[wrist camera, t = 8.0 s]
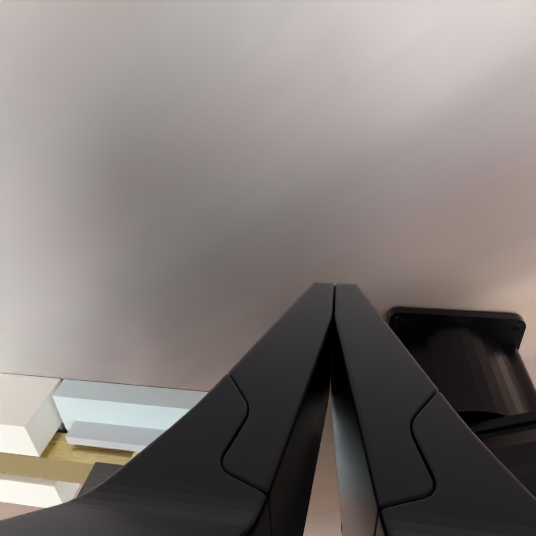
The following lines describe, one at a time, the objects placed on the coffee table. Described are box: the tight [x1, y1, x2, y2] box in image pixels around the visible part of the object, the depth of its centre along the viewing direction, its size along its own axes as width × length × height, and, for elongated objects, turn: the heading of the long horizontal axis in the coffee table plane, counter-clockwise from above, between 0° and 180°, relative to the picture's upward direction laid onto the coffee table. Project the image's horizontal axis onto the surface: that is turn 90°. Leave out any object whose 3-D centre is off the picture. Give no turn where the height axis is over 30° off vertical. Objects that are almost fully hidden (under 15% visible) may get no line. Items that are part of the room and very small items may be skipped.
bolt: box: [0, 432, 139, 497], centre depth 29 cm, size 10×3×4 cm, turn 93°
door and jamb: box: [0, 373, 208, 508], centre depth 30 cm, size 22×9×4 cm, turn 93°
